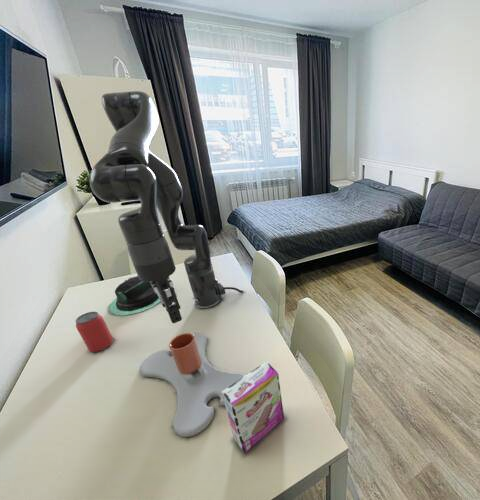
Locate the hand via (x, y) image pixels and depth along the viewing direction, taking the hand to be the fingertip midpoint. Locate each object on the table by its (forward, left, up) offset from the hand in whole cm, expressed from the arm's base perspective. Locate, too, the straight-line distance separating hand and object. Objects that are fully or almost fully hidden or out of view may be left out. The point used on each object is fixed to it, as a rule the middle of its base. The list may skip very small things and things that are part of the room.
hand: (172, 313), depth 68 cm
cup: (0, +1, -18) cm, 18 cm away
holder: (0, 0, -23) cm, 23 cm away
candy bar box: (-7, +27, -23) cm, 36 cm away
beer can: (+19, -34, -23) cm, 46 cm away
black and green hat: (+5, -56, -23) cm, 61 cm away
